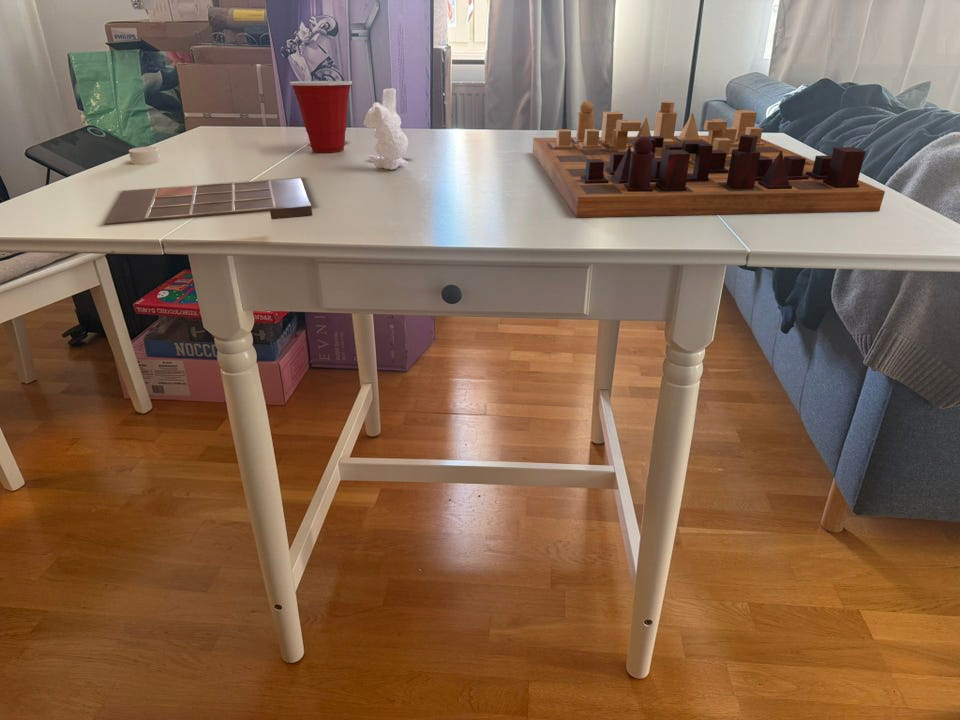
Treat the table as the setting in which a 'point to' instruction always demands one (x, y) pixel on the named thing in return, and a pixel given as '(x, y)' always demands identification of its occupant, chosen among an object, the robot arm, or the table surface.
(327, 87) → the plastic cup
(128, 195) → the board
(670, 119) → the gameboard
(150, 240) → the table surface
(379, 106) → the white upright figurine
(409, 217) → the table surface
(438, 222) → the table surface
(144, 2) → the robot arm
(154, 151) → the short white cylinder
